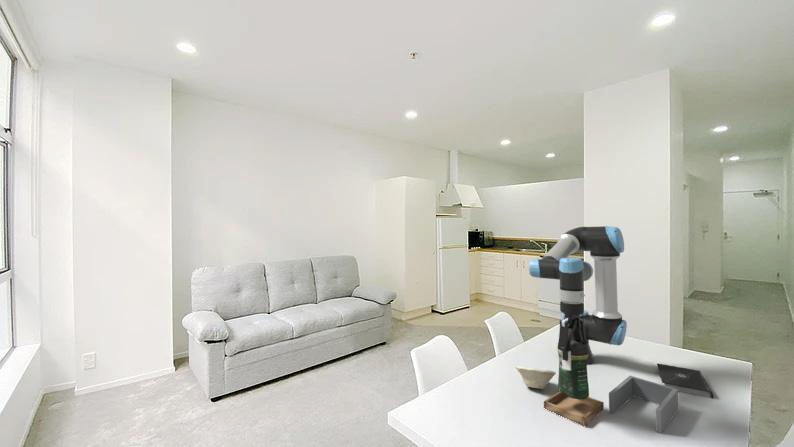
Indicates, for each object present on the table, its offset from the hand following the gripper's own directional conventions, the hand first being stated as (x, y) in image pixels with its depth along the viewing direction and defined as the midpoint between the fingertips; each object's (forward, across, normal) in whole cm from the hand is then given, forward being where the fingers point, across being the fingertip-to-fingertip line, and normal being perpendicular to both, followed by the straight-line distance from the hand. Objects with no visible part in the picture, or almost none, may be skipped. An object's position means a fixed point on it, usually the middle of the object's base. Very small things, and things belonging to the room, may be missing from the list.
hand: (572, 365), depth 117 cm
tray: (+16, 0, 0) cm, 16 cm away
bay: (+16, +17, -16) cm, 28 cm away
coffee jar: (+10, 0, 0) cm, 10 cm away
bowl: (+16, +5, +17) cm, 24 cm away
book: (+16, +56, -19) cm, 61 cm away
